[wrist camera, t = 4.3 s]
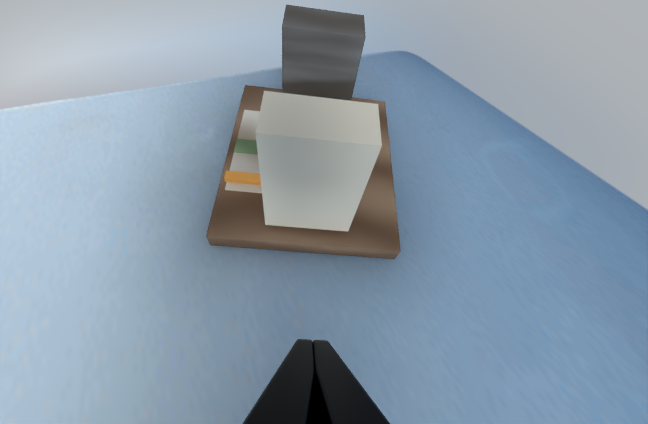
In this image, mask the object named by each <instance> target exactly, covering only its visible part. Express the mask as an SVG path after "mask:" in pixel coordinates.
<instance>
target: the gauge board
mask: <svg viewBox="0 0 648 424" xmlns="http://www.w3.org/2000/svg"><path fill="white" fill-rule="evenodd" d="M364 41H365V24H364V15H357V14H349V13H342V12H335V11H328V10H321V9H313V8H306V7H299V6H292V5H286V9H285V14H284V19H283V24H282V89H273V88H265V87H256V86H248V85H245V88H244V92H243V96H242V99H241V103H240V107H239V111H238V115H237V119H236V123H235V127H234V130H233V134H232V138H231V142H230V146H229V150H228V154H227V158H226V161H225V165H224V169H223V173H222V177H221V181H220V185H219V189H218V192H217V196H216V200H215V204H214V208H213V212H212V216H211V220H210V223H209V227H208V231H207V235H206V237H207V239H208V241H209V243H210V245H217V246H230V247H244V248H257V249H270V250H283V251H296V252H310V253H323V254H336V255H349V256H363V257H376V258H389V259H395V257H396V256H397V255H398V254H399V252H400V241H399V232H398V222H397V213H396V203H395V194H394V184H393V175H392V165H391V156H390V146H389V137H388V127H387V118H386V108H385V102H384V101H375V100H367V99H358V98H352V94H353V89H354V85H355V80H356V76H357V72H358V67H359V63H360V58H361V54H362V50H363V45H364ZM264 91H271V92H280V93H288V94H297V95H306V96H314V97H323V98H331V99H340V100H349V101H357V102H366V103H374V104H378V108H379V119H380V130H381V142H382V147H381V150H380V152H379V155H378V157H377V160H376V162H375V165H374V167H373V170H372V172H371V175H370V177H369V180H368V183H367V185H366V188H365V190H364V193H363V195H362V198H361V200H360V203H359V205H358V208H357V210H356V213H355V215H354V218H353V221H352V223H351V226H350V228H349V231H348V232H347V231H334V230H322V229H310V228H298V227H285V226H273V225H265V217H264V208H263V199H262V189H261V185H252V184H241V183H230V182H225V181H224V177H225V173H226V171H237V172H247V173H258V174H260V170H259V161H258V152H257V142H256V128H257V123H258V118H259V113H260V108H261V103H262V99H263V94H264Z"/></svg>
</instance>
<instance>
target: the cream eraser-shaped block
mask: <svg viewBox="0 0 648 424" xmlns="http://www.w3.org/2000/svg"><path fill="white" fill-rule="evenodd" d="M256 142H257V152H258V161H259V170H260V180H261V189H262V199H263V208H264V217H265V225H273V226H285V227H298V228H310V229H322V230H334V231H347V232H348V231H349V228H350V226H351V223H352V221H353V218H354V215H355V213H356V210H357V208H358V205H359V203H360V200H361V198H362V195H363V193H364V190H365V188H366V185H367V183H368V180H369V177H370V175H371V172H372V170H373V167H374V165H375V162H376V160H377V157H378V155H379V152H380V150H381V147H382V142H381V130H380V119H379V108H378V104H374V103H366V102H357V101H349V100H340V99H331V98H323V97H314V96H306V95H297V94H288V93H280V92H271V91H264V94H263V99H262V103H261V108H260V113H259V118H258V123H257V128H256Z"/></svg>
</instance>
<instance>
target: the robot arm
mask: <svg viewBox="0 0 648 424" xmlns="http://www.w3.org/2000/svg"><path fill="white" fill-rule="evenodd" d="M243 424H390V423H389V422H388V420H387V419H386V418H385V416H384V415H383V414H382V412H381V411H380V410H379V408H378V407H377V406H376V404H375V403H374V402H373V400H372V399H371V398H370V396H369V395H368V394H367V392H366V391H365V390H364V388H363V387H362V386H361V384H360V383H359V382H358V380H357V379H356V378H355V377H354V375H353V374H352V373H351V371H350V370H349V369H348V367H347V366H346V365H345V363H344V362H343V361H342V359H341V358H340V357H339V355H338V354H337V353H336V351H335V350H334V349H333V347H332V346H331V345H330V343H329V342H328V341H325V340H314V341H313V343H312V341H311V340H306V339H298V340H297V341H296V342H295V344H294V346H293V347H292V349H291V350H290V352H289V353H288V355H287V356H286V358H285V359H284V361H283V362H282V364H281V365H280V367H279V369H278V370H277V372H276V373H275V375H274V376H273V378H272V379H271V381H270V382H269V384H268V385H267V387H266V388H265V390H264V392H263V393H262V395H261V396H260V398H259V399H258V401H257V402H256V404H255V405H254V407H253V408H252V410H251V411H250V413H249V415H248V416H247V418H246V419H245V421H244V422H243Z"/></svg>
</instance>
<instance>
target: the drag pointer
mask: <svg viewBox="0 0 648 424" xmlns="http://www.w3.org/2000/svg"><path fill="white" fill-rule="evenodd" d="M224 181H225V182H230V183H241V184H252V185H261V180H260V174H258V173H247V172H237V171H226V173H225V177H224Z"/></svg>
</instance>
